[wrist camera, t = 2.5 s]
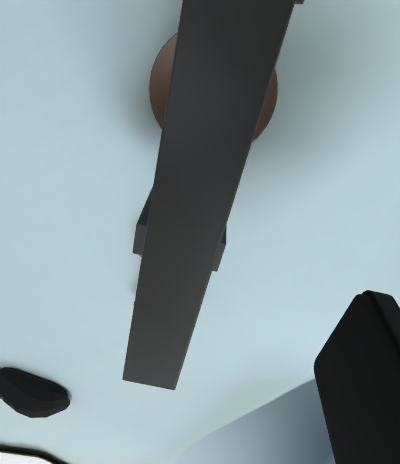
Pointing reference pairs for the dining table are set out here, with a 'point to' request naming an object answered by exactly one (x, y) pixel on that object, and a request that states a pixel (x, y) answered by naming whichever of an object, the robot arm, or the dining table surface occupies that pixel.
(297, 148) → the dining table surface
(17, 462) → the plate
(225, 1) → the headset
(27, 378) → the gaming mouse
